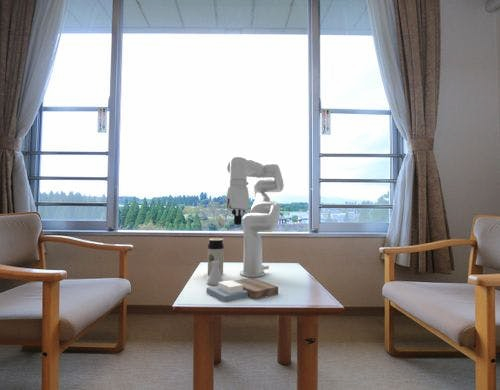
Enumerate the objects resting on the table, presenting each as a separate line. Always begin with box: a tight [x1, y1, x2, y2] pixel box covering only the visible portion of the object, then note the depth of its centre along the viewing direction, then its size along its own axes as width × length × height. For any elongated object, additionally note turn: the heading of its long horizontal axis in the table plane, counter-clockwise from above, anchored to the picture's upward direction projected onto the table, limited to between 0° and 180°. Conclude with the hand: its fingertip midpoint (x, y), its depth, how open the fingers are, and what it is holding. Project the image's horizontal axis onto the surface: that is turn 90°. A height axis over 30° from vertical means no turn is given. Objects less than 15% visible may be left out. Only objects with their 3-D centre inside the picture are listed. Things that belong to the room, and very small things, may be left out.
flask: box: [206, 261, 224, 287], centre depth 141 cm, size 7×7×10 cm
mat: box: [206, 285, 249, 303], centre depth 124 cm, size 11×14×2 cm
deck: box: [233, 277, 279, 300], centre depth 130 cm, size 12×18×3 cm, turn 37°
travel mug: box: [207, 237, 225, 276], centre depth 160 cm, size 8×8×18 cm
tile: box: [217, 279, 243, 294], centre depth 124 cm, size 6×9×2 cm, turn 37°
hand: (237, 224), depth 140 cm, fingers closed
